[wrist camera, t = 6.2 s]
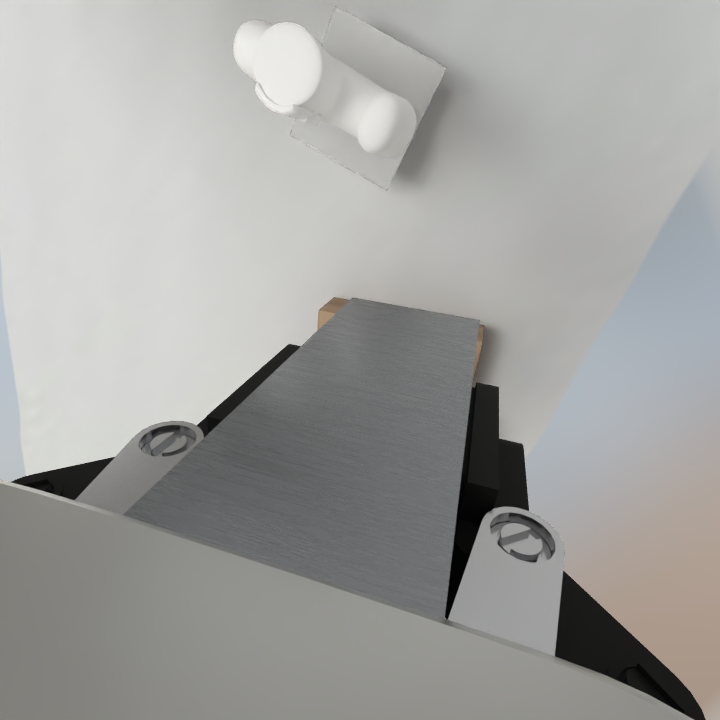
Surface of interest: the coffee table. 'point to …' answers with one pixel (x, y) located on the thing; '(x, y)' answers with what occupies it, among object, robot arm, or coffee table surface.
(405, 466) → the column
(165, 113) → the coffee table surface
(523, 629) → the robot arm
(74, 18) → the coffee table surface
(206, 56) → the coffee table surface
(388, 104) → the figurine
